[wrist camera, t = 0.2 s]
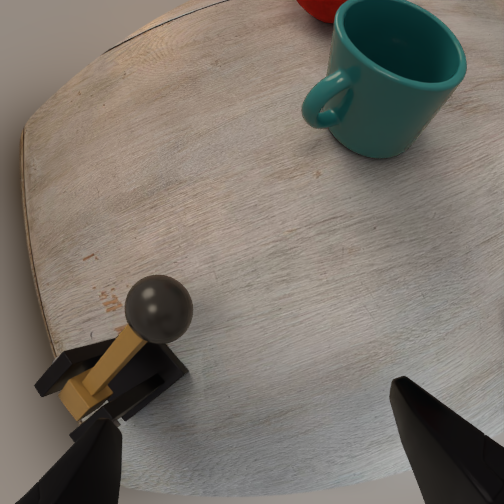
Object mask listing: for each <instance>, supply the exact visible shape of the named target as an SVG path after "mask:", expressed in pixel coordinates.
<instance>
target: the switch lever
mask: <svg viewBox="0 0 504 504" xmlns="http://www.w3.org/2000/svg"><path fill="white" fill-rule="evenodd" d="M125 316H126V320H127V322H128V325H127V326H126V327H125V328H124V330H123V331H122V332H121V333H120V335H119V336H118V337H117V338H116V340H115V341H114V342H113V343H112V344H111V346H110V347H109V348H108V350H107V351H106V352H105V353H104V355H103V356H102V357H101V358H100V360H99V361H98V362H97V363H96V365H95V366H94V367H92V368H90V369H88V370H86V371H84V372H83V373H81V374H79V375H77V376H75V377H73V378H71V379H69V380H68V382H67V383H66V384H65V386H64V387H63V389H62V391H61V392H60V394H59V395H58V396H59V398H60V399H61V401H62V402H63V404H64V405H65V406H66V408H67V409H68V410H69V412H70V413H71V414H72V416H73V417H74V418H75V420H76V421H79V420H81V419H82V418H84V417H85V416H87V415H89V414H90V413H92V412H93V411H95V410H96V409H98V408H99V407H100V406H101V405H102V404H103V403H104V402H105V401H106V400H107V399H108V398H109V397H110V396H111V395H112V394H113V391H112V390H111V389H110V388H109V386H108V385H107V384H108V383H109V382H110V381H111V380H112V379H113V378H114V377H115V376H116V375H117V374H118V372H119V371H120V370H121V369H122V368H123V367H124V366H125V365H126V364H127V363H128V362H129V361H130V360H131V359H132V357H133V356H134V355H135V354H136V353H137V352H138V351H139V350H140V349H141V348H142V347H143V346H144V345H145V344H146V343H147V342H150V343H154V344H166V343H170V342H173V341H175V340H177V339H178V338H180V337H181V336H182V335H183V334H184V333H185V332H186V331H187V329H188V328H189V326H190V323H191V321H192V317H193V304H192V300H191V297H190V295H189V293H188V291H187V290H186V288H185V287H184V286H183V285H182V284H181V283H180V282H178V281H177V280H175V279H174V278H172V277H169V276H165V275H151V276H147V277H145V278H143V279H141V280H139V281H138V282H137V283H135V285H134V286H133V287H132V288H131V289H130V291H129V293H128V295H127V298H126V301H125Z"/></svg>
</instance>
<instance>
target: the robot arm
mask: <svg viewBox="0 0 504 504" xmlns="http://www.w3.org/2000/svg"><path fill="white" fill-rule="evenodd" d="M389 398H390V403H391V407H392V410H393V414H394V417H395V421H396V424H397V428H398V432H399V435H400V439H401V442H402V445H403V448H404V450H405V452H406V455H407V457H408V460H409V462H410V465H411V467H412V470H413V472H414V475H415V478H416V480H417V483H418V485H419V488H420V490H421V493H422V496H423V499H424V501H425V504H504V447H503V446H501V445H499V444H498V443H497V442H495V441H494V440H492V439H491V438H490V437H488V436H487V435H485V436H484V433H483V432H481V431H480V430H478V429H477V428H476V427H474V426H473V425H472V424H470V423H469V422H468V421H466V420H465V419H463V418H462V417H461V416H459V415H458V414H457V413H455V412H454V411H452V410H451V409H450V408H448V407H447V406H446V405H444V404H443V403H442V402H440V401H439V400H438V399H436V398H435V397H433V396H432V395H431V394H429V393H428V392H427V391H425V390H424V389H423V388H421V387H420V386H419V385H417V384H416V383H414V382H413V381H412V380H410V379H409V378H408V377H406V376H401V377H398V378H395V379H393V380H392V383H391V389H390V396H389ZM121 465H122V433H121V431H120V430H119V429H118V428H117V426H116V425H115V424H114V423H113V421H112V420H111V419H109V418H99V419H97V420H96V421H95V422H94V423H93V424H92V425H91V426H90V427H89V429H88V430H87V431H86V432H85V433H84V434H83V435H82V436H81V437H80V438H79V439H78V440H77V441H76V442H75V443H74V444H73V445H72V447H70V449H69V450H68V451H67V452H66V453H65V454H64V455H63V456H62V457H61V458H60V459H59V460H58V461H57V462H56V463H55V464H54V466H52V468H51V469H50V470H49V471H48V472H47V473H46V474H45V475H44V476H43V477H42V478H41V479H40V480H39V482H37V483H36V484H35V485H34V486H33V487H32V488H31V489H30V490H29V491H28V492H27V493H26V494H25V495H24V496H23V497H22V498H21V499H20V500H19V501H17V502H16V503H15V504H118V498H119V488H120V481H121Z"/></svg>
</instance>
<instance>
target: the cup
mask: <svg viewBox="0 0 504 504" xmlns="http://www.w3.org/2000/svg"><path fill="white" fill-rule="evenodd" d="M466 70H467V62H466V56H465V53H464V50H463V48H462V46H461V44H460V42H459V41H458V39H457V38H456V36H455V35H454V34H453V32H452V31H451V30H450V29H449V28H448V27H447V26H446V25H445V24H444V23H443V22H442V21H441V20H439V19H438V18H437V17H436V16H434V15H433V14H431V13H430V12H428V11H427V10H425V9H423V8H422V7H420V6H418V5H416V4H413V3H411V2H409V1H406V0H347V1H346V2H344V3H343V4H342V5H341V6H340V7H339V8H338V10H337V12H336V14H335V19H334V26H333V33H332V40H331V47H330V54H329V61H328V68H327V74H326V77H325V78H324V79H322V80H321V81H320V82H319V83H317V84H316V85H315V86H314V87H313V88H312V89H311V91H310V92H309V93H308V94H307V96H306V98H305V100H304V102H303V105H302V109H301V110H302V116H303V118H304V120H305V121H306V122H307V123H308V125H310V126H311V127H313V128H316V129H325V128H328V129H329V130H330V132H331V133H332V134H333V136H334V137H335V138H336V139H337V140H338V141H339V142H340V143H341V144H343V145H344V146H345V147H347V148H348V149H350V150H352V151H353V152H355V153H358V154H360V155H363V156H366V157H371V158H390V157H394V156H397V155H399V154H401V153H403V152H405V151H406V150H407V149H408V148H409V147H410V146H411V145H412V144H413V143H414V142H415V140H416V139H417V138H418V137H419V135H420V134H421V133H422V132H423V130H424V129H425V128H426V127H427V125H428V124H429V123H430V122H431V120H432V119H433V118H434V117H435V115H436V114H437V113H438V112H439V110H440V109H441V108H442V106H443V105H444V104H445V103H446V101H447V100H448V99H449V97H450V96H451V95H452V94H453V92H454V91H455V90H456V88H457V87H458V86H459V84H460V83H461V82H462V80H463V79H464V77H465V74H466ZM321 109H322V112H320V111H321Z"/></svg>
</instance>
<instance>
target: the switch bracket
mask: <svg viewBox="0 0 504 504" xmlns="http://www.w3.org/2000/svg"><path fill="white" fill-rule="evenodd" d="M119 335H120V334H119ZM119 335H118V336H119ZM118 336H117V337H118ZM117 337H116V338H117ZM116 338H114V339H110V340H106V341H103V342H99V343H95V344H91V345H87V346H83V347H79V348H75V349H71V350H67V351H63V352H62V354H61V355H60V356H58V357H57V358H55V359H54V361H53V362H52V365H51V366H50V367H49V368H48V370H47V371H46V372H45V373H44V374H43V376H42V377H41V378H40V379H39V380H38V381H37V382H36V384H35V385H34V386H35V388H36V389H37V391H38V393H39V394H40V396H41V397H44V396H47V395H49V394H52V393H55V392H57V391H60V390H62V389H63V387H64V386H65V384H66V383H67V382H68V380H69V379H71V378H73V377H75V376H77V375H79V374H81V373H83V372H84V371H86V370H88V369H90V368H92V367H94V366H95V365H96V363H97V362H98V361H99V360H100V358H101V357H102V356H103V355H104V353H105V352H106V351H107V350H108V348H109V347H110V346H111V344H112V343H113V342H114V341H115V340H116ZM187 372H188V370H187V368H186V367H185V366H184V365H183V364H182V363H181V362H180V360H179V359H178V358H177V357H176V356H175V355H174V353H173V352H172V351H171V350H170V349H169V347H168V346H167V345H166V344H154V343H150V342H147V343H146V344H145V345H144V346H143V347H142V348H141V349H140V350H139V351H138V352H137V353H136V354H135V355H134V356H133V357H132V359H131V360H130V361H129V362H128V363H127V364H126V365H125V366H124V367H123V368H122V369H121V370H120V371H119V372H118V374H117V375H116V376H115V377H114V378H113V379H112V380H111V381H110V382H109V383H108V384H107V385H108V386H109V388H110V389H111V390H112V391H113V394H112V395H111V396H110V397H109V398H108V399H107V400H108V402H109V403H107V404H105V405H103V406H102V407H101V408H100V409H99V410H97V411H96V412H95V413H94V414H93V415H92V416H90V417H89V418H88V419H87V420H86V421H85V422H83V423H82V424H81V425H80V426H79V427H77V428H76V429H75V430H74V431H73V432H72V433H70V435H69V436H70V437H71V438H72V439H73V441H74V442H76V441H77V440H78V439H79V438H80V437H81V436H82V435H83V434H84V433H85V432H86V431H87V430H88V429H89V427H90V426H91V425H92V424H93V423H94V422H95V421H96V420H97V419H99V418H109V419H111V420H112V421H113V423H114V424H115V425H116V426H117V427H119V426H120V425H121V424H120V423H119V422H118V421H117V420H118V419H119V418H120V417H122V419H123V420H124V421H127V420H128V419H129V418H131V417H132V416H133V415H135V414H136V413H137V412H138V411H140V410H141V409H142V408H144V407H145V406H146V405H147V404H149V403H150V402H151V401H152V400H154V399H155V398H156V397H157V396H159V395H160V394H161V393H162V392H164V391H165V390H166V389H167V388H169V387H170V386H171V385H172V384H173V383H175V382H176V381H177V380H178V379H180V378H181V377H182V376H183V375H184V374H186V373H187Z"/></svg>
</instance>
